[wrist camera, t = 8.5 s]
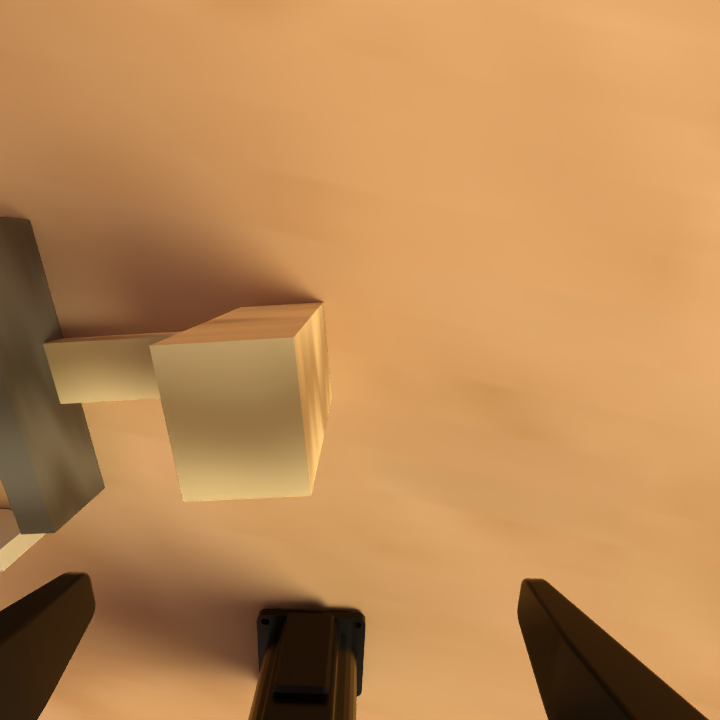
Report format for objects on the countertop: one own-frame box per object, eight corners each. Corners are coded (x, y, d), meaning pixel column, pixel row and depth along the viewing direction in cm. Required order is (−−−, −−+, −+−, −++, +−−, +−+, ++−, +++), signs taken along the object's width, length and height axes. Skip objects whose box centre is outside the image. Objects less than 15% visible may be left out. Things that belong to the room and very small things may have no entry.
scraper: (338, 476, 20) (323, 609, 13) (76, 489, 21) (-92, 626, 13) (314, 200, 17) (273, 154, 9) (-5, 222, 17) (-308, 194, 9)
